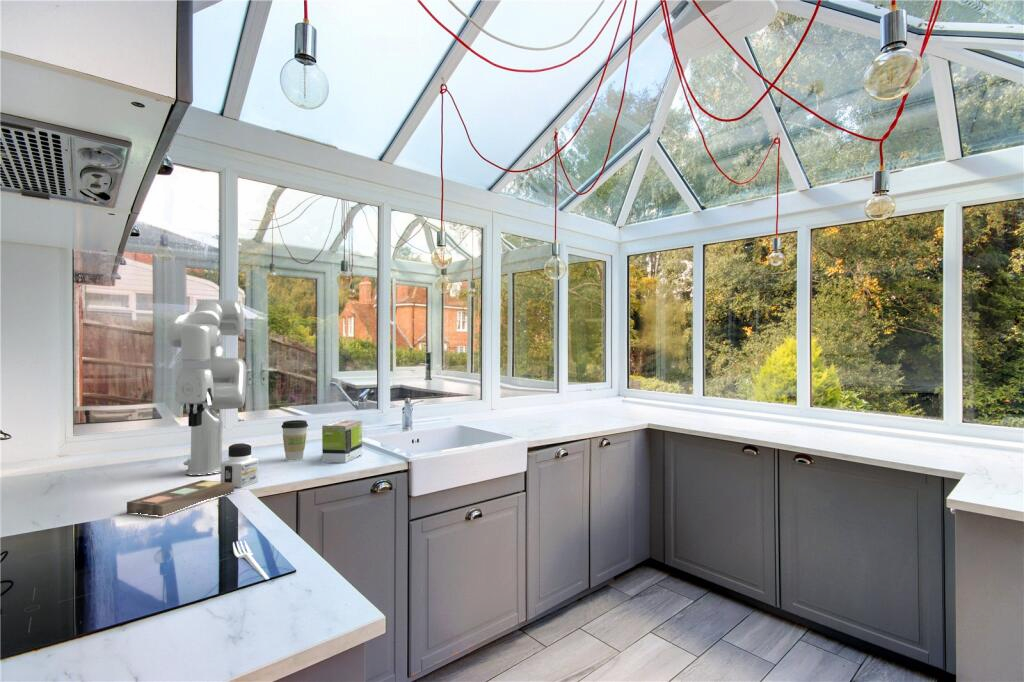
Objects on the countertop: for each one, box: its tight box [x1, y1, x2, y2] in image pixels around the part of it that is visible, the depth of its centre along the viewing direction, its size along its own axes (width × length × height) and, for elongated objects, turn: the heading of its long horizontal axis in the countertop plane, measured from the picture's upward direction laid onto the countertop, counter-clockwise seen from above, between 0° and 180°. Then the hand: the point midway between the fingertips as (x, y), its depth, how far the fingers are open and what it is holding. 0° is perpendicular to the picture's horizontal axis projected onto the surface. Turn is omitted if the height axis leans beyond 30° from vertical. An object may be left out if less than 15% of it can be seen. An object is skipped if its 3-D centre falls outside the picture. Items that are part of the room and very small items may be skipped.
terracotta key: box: [142, 496, 173, 504], centre depth 131 cm, size 5×5×3 cm
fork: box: [232, 539, 270, 580], centre depth 100 cm, size 3×20×2 cm, turn 43°
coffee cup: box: [280, 419, 309, 461], centre depth 195 cm, size 10×10×15 cm
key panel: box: [126, 479, 235, 516], centre depth 139 cm, size 12×23×3 cm, turn 165°
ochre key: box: [195, 480, 221, 488], centre depth 147 cm, size 5×5×3 cm
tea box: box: [321, 419, 363, 464], centre depth 196 cm, size 15×10×15 cm, turn 172°
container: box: [220, 442, 259, 489], centre depth 158 cm, size 8×8×13 cm
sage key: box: [170, 488, 198, 495], centre depth 139 cm, size 5×5×3 cm
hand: (195, 425), depth 148 cm, fingers closed
